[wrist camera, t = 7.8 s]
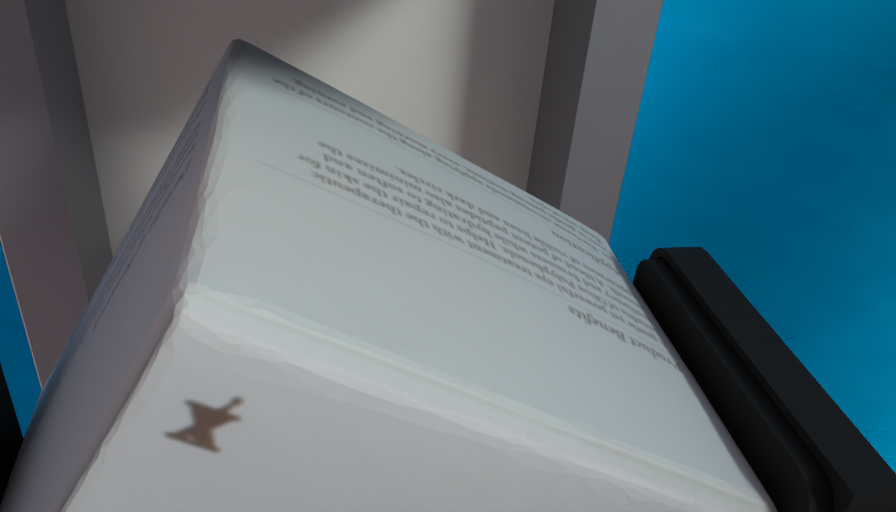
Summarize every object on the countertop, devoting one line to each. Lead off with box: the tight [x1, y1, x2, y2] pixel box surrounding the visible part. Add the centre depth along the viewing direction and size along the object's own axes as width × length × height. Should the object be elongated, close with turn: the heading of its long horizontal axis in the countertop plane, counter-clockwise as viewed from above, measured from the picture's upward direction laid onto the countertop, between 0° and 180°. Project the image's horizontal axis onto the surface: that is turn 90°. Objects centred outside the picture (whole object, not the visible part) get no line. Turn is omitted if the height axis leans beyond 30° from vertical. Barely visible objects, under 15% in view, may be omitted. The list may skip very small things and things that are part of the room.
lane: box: [0, 0, 663, 389], centre depth 16 cm, size 27×11×5 cm, turn 176°
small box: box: [0, 39, 778, 512], centre depth 8 cm, size 6×6×5 cm
